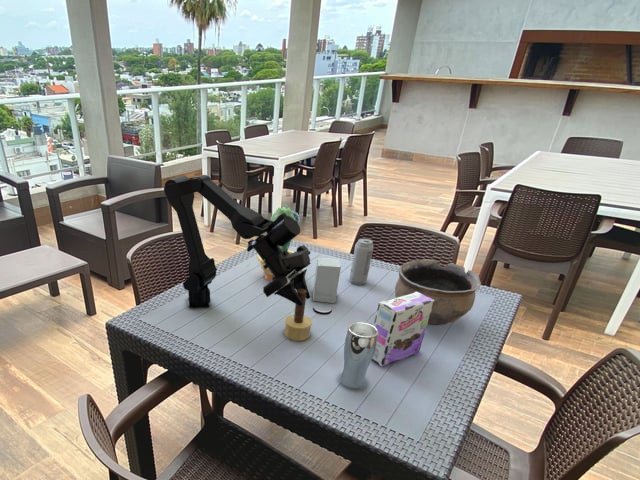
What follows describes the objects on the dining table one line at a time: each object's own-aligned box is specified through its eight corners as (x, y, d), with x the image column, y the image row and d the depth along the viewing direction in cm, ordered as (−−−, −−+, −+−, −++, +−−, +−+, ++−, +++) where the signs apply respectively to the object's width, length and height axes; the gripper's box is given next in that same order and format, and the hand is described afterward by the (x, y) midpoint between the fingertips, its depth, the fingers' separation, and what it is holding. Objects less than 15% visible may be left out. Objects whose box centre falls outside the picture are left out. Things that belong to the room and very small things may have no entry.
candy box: (381, 367, 112) (395, 311, 103) (365, 356, 116) (377, 301, 107) (419, 353, 117) (436, 299, 108) (402, 343, 122) (417, 290, 113)
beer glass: (334, 373, 110) (343, 322, 102) (361, 372, 110) (372, 321, 102) (343, 391, 104) (353, 338, 96) (371, 389, 104) (384, 336, 96)
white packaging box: (335, 303, 142) (341, 267, 135) (312, 301, 143) (316, 265, 136) (334, 293, 148) (340, 258, 141) (312, 291, 149) (317, 256, 142)
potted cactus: (300, 286, 153) (309, 215, 139) (257, 285, 153) (260, 214, 139) (295, 268, 166) (302, 202, 152) (254, 268, 166) (258, 201, 152)
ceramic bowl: (475, 317, 134) (492, 272, 126) (450, 346, 120) (467, 297, 112) (405, 295, 147) (416, 253, 139) (376, 318, 133) (386, 273, 125)
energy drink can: (352, 276, 159) (360, 236, 151) (368, 280, 157) (377, 240, 148) (346, 282, 155) (353, 241, 147) (362, 286, 152) (370, 245, 144)
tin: (292, 342, 122) (293, 330, 120) (280, 330, 127) (281, 318, 125) (313, 338, 124) (315, 326, 122) (301, 326, 129) (302, 314, 127)
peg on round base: (292, 333, 120) (296, 299, 114) (279, 320, 125) (282, 287, 120) (316, 328, 122) (321, 294, 116) (302, 315, 128) (306, 282, 122)
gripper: (277, 249, 106) (314, 301, 107) (307, 229, 119) (340, 275, 120) (247, 272, 114) (282, 320, 114) (279, 250, 127) (310, 293, 128)
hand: (305, 301), depth 119 cm, fingers open, 5 cm apart
